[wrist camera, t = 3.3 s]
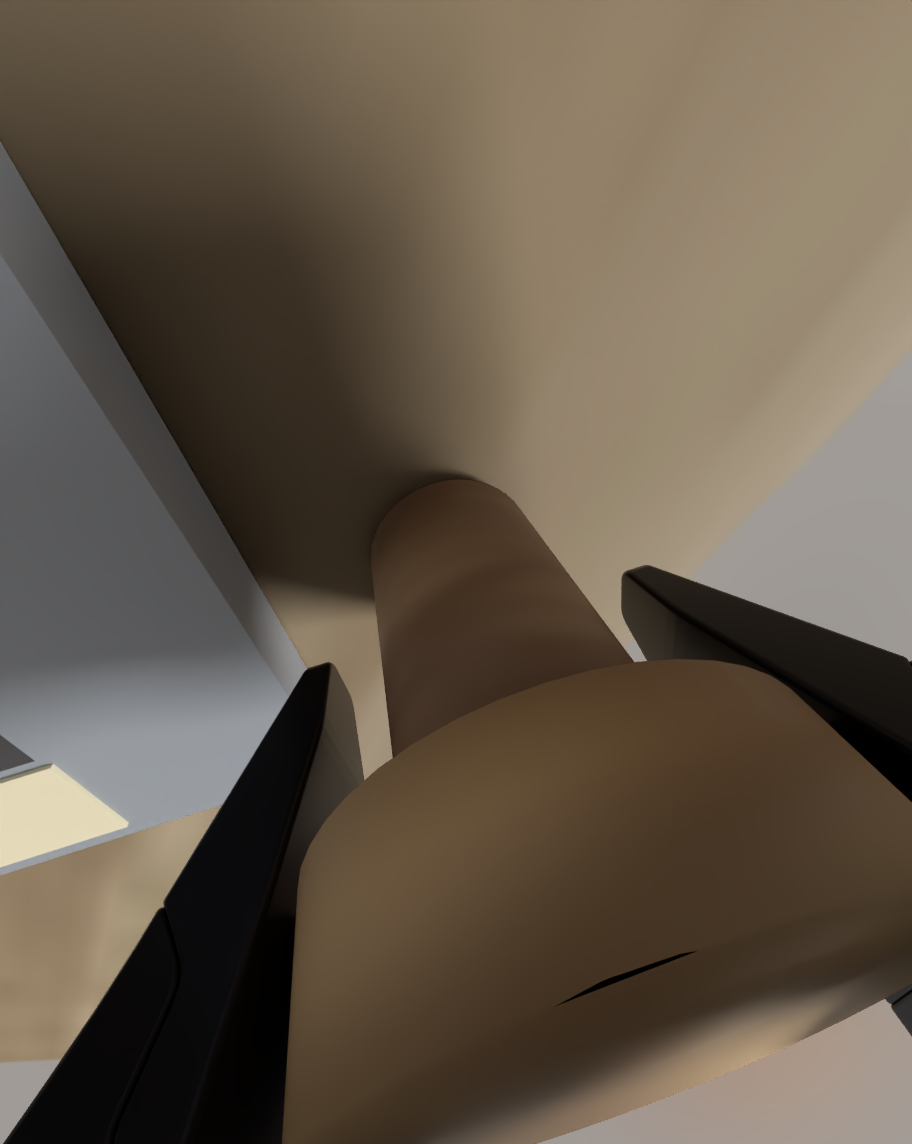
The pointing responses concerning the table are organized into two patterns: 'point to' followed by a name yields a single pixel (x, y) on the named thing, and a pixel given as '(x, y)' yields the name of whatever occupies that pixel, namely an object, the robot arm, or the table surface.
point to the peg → (571, 862)
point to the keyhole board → (109, 583)
